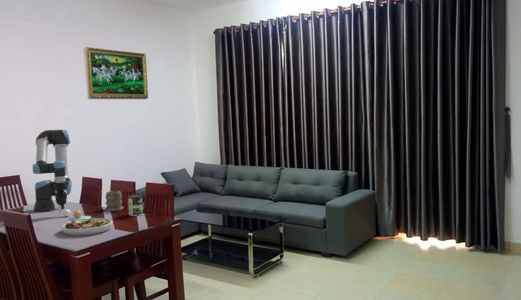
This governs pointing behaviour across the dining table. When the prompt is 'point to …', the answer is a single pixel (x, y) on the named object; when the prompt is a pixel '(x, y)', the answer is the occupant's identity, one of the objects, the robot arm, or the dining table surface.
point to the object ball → (77, 214)
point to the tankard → (113, 201)
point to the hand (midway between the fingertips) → (61, 213)
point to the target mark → (80, 218)
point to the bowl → (86, 226)
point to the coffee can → (135, 205)
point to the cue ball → (66, 212)
